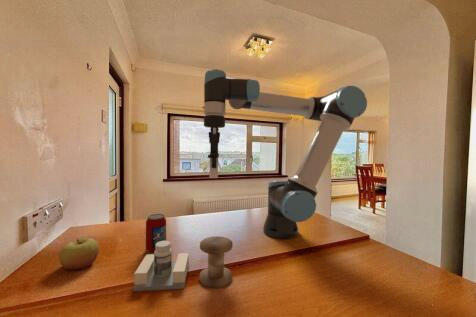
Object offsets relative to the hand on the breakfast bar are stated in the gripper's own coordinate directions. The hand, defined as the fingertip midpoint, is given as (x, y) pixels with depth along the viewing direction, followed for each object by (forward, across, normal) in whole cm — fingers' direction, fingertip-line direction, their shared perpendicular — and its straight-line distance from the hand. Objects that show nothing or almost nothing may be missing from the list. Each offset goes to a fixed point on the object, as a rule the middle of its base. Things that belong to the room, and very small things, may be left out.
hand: (213, 175), depth 77 cm
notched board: (+27, +16, -14) cm, 34 cm away
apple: (+27, +8, -40) cm, 49 cm away
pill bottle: (+26, +16, -14) cm, 33 cm away
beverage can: (+27, -1, -20) cm, 34 cm away
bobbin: (+27, +18, +1) cm, 32 cm away
